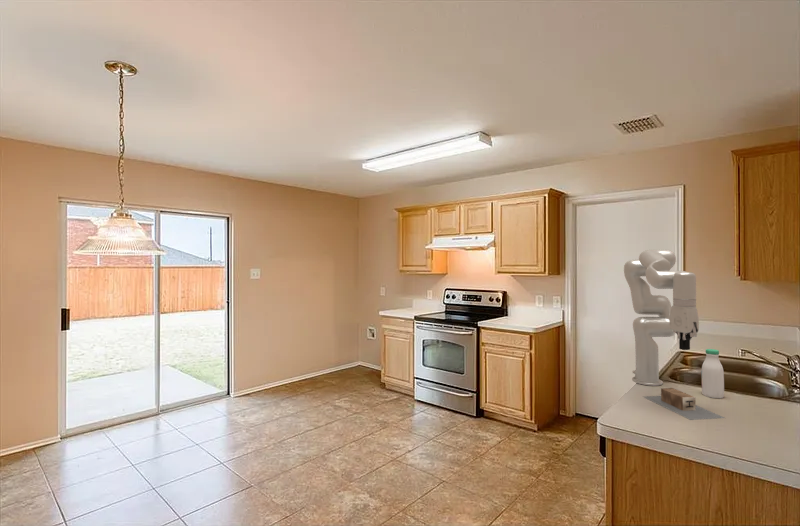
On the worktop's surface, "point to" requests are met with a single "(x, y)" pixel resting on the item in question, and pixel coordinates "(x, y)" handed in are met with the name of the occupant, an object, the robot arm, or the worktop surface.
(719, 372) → the milk bottle
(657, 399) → the mat
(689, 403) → the walnut block
